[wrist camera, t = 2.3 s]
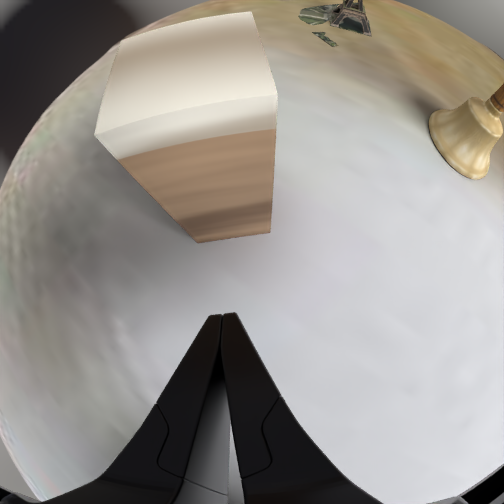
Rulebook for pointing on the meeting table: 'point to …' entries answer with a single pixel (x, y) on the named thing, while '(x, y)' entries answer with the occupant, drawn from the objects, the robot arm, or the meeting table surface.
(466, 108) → the hand bell
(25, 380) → the meeting table surface
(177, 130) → the wooden block
